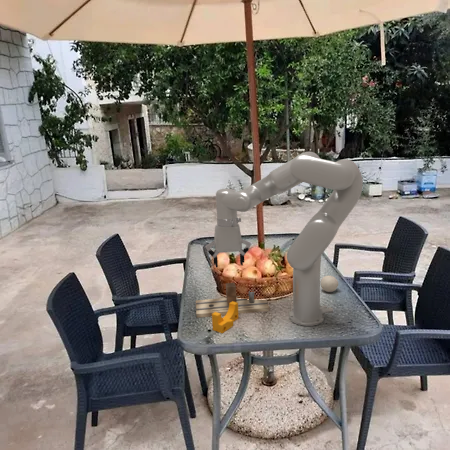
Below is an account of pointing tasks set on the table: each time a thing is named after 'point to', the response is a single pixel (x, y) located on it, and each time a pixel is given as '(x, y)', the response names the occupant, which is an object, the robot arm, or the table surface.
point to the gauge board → (220, 306)
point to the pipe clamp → (225, 318)
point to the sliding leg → (230, 292)
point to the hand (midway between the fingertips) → (229, 265)
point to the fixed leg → (251, 297)
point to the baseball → (329, 283)
